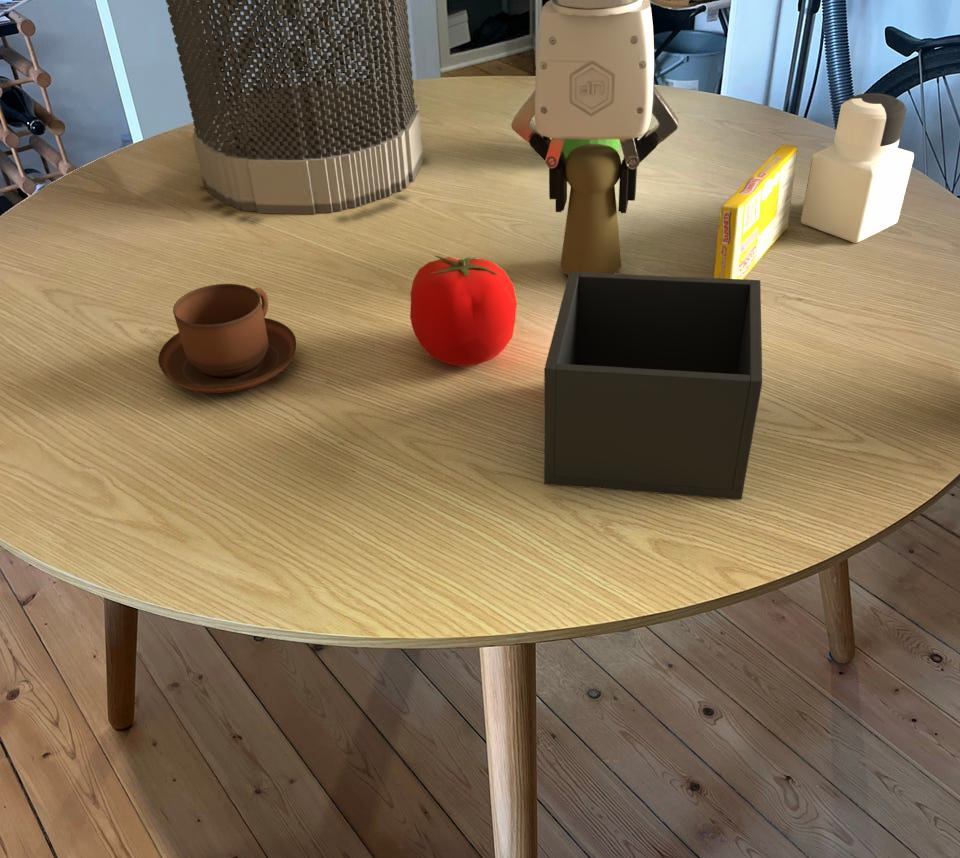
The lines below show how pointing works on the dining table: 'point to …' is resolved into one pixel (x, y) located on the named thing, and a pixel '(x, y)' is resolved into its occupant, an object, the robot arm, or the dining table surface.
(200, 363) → the cup and saucer
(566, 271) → the brown pawn
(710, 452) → the bin
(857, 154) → the medicine bottle
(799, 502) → the dining table surface
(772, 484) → the dining table surface
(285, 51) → the wastebasket
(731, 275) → the candy box
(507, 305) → the tomato
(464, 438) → the dining table surface
